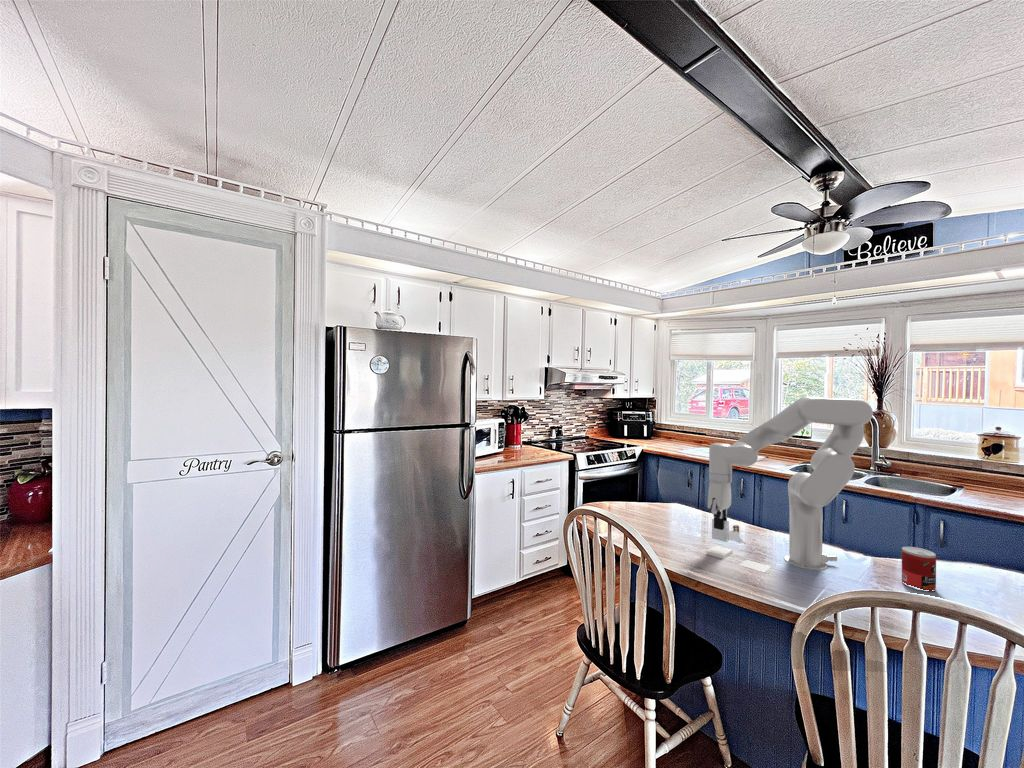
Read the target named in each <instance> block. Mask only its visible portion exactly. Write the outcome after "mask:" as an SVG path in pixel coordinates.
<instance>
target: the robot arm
mask: <svg viewBox="0 0 1024 768" xmlns="http://www.w3.org/2000/svg"><path fill="white" fill-rule="evenodd" d="M873 414H874V411H873V408H872V406H871V405H870V403H867V402H866V401H864V400H860V399H857V398H855V399H852V398H826V397H819V396H818V397H817V396H803V397H800V398H799V399H797V400H795V401H794V402H793V403H791V404H790V405H788V406H787V407H786V408H784V409H783V410H781V411H780V412H779V413H777V414H776V415H774V416H773V417H772V418H770V419H768V420H767V421H765V422H764V423H761V425H759V426H757V427H755V428H754V429H752V430H750V431H748V432H747V433H746V434H745V435H743V436H742V437H740V438H739V439H737V440H736V441H735V442H733V444H731V445H730V444H729V443H724V442H723V443H722V442H714V443H710V445H709V451H708V452H709V453H708V454H709V455H708V456H709V457H708V460H709V462H708V464H709V465H708V466H709V467H708V468H709V469H708V473H709V475H708V476H709V477H708V481H709V485H708V492H707V509H709V510H710V511H711V514H712V515H713V519H714V528H716V529H720V530H723V520H725V521H728V509H729V508H730V507H731V505H732V485H731V484H732V483H733V465H735V466H740V467H741V466H742V467H751V466H753V465H754V464H756V463H757V462H758V459H759V458H758V457H759V454H758V452H759V451H761V450H762V449H764V448H766V447H769V446H770V445H772V444H778V443H782V442H785V441H787V440H789V439H790V438H792V437H793V436H795V435H796V434H797V433H799V432H800V431H802V430H803V429H804V428H806V427H807V426H809V425H810V424H811V423H815V424H823V425H833V426H832V427H833V428H832V431H831V433H830V434H829V436H828V437H827V438H826V440H824V442H823V443H822V444H821V445H820V447H819V448H818V449H817V450H816V451H815V453H814V454H812V456H811V458H810V466H811V468H812V470H813V471H812V472H811V473H809V472H803V471H802V472H800V471H799V472H797V473H795V474H793V475H792V476H791V477H790V478H789V480H788V483H787V492H788V493H787V494H788V495H787V496H788V502H789V505H788V506H789V540H788V541H789V542H788V543H789V544H788V545H789V547H788V548H789V553H788V554H787V555H785V556H784V557H783V558H784V559H783V560H784V561H785V562H786V563H788V564H789V565H791V566H794V567H797V568H800V569H805V570H811V571H825V570H827V569H828V567H829V566H828V562H837V561H838V557H837V555H834V554H833V555H832V554H831V555H829V554H828V553H826V552H825V553H824V552H823V521H824V520H823V519H824V518H823V517H824V516H823V507H826V506H827V505H829V504H830V503H831V502H832V501H833V500H834V499H835V498H836V497H837V496H838V494H840V492H842V490H843V489H844V488H845V487H846V485H847V484H848V483H849V482H850V481H851V479H852V477H853V476H854V473H855V468H856V467H855V463H854V461H853V459H852V457H853V455H854V453H855V452H856V451H857V450H858V448H859V447H860V445H861V444H862V442H863V438H864V435H865V433H864V430H865V429H864V425H865V424H868V422H870V421H871V420H872V418H873ZM719 512H720V513H719ZM722 512H723V519H722Z"/></svg>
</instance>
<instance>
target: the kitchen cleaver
mask: <svg viewBox="0 0 1024 768" xmlns="http://www.w3.org/2000/svg"><path fill="white" fill-rule="evenodd" d="M732 528H733V531H730V530H729V541H734V542H736V543H741V544H745V545H746V542H745V541H744V540H743V539H742V538H741V536H740V526H739V525H737V524H734V525H733V526H732Z"/></svg>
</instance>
